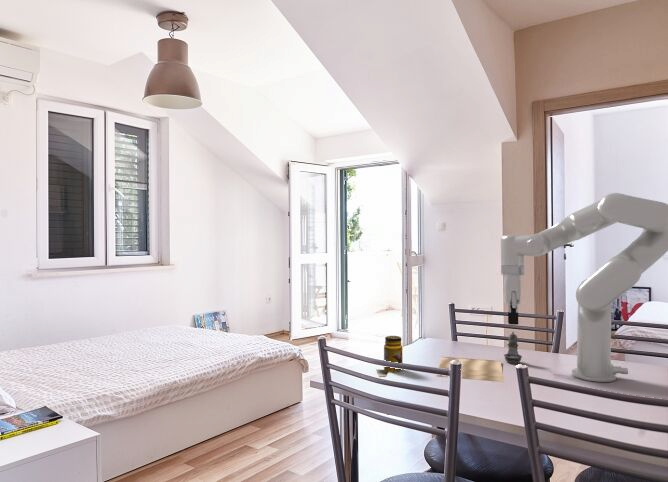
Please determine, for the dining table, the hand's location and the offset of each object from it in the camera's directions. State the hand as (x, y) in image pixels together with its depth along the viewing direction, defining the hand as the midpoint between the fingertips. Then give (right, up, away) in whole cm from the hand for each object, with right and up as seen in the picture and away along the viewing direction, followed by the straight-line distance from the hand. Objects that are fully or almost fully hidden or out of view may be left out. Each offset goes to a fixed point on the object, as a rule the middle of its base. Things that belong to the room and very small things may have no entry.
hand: (513, 323), depth 170 cm
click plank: (-16, -14, -3) cm, 21 cm away
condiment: (-43, -15, -9) cm, 47 cm away
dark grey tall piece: (0, -15, 0) cm, 15 cm away
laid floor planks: (-19, -15, -14) cm, 28 cm away
